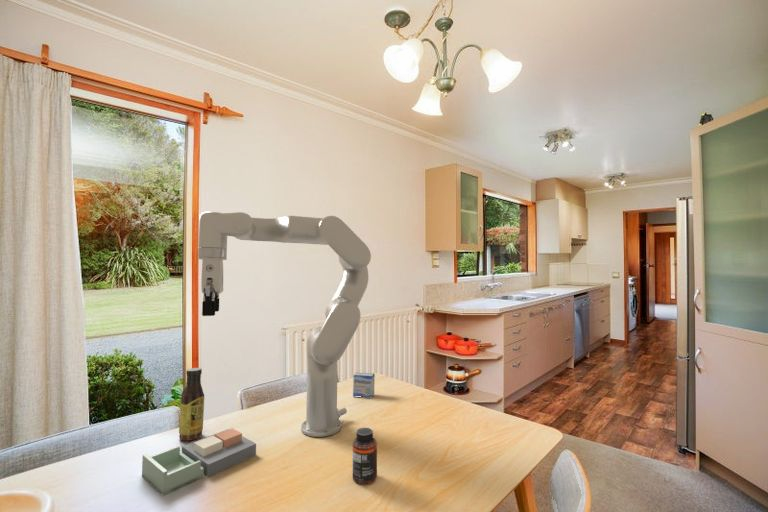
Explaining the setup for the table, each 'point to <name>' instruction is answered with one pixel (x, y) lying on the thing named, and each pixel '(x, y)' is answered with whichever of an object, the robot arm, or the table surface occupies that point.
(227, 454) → the slate board
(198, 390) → the sauce bottle
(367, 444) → the supplement bottle
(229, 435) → the terracotta tile
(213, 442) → the cream tile
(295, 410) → the table surface
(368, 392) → the medicine box
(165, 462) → the bin
